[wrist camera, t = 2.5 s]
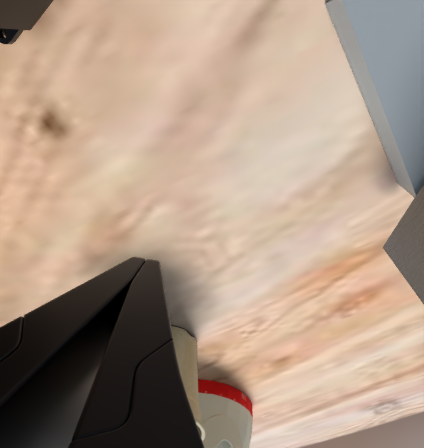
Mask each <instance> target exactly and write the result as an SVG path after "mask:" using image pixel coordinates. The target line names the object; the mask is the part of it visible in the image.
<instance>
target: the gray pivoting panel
mask: <svg viewBox="0 0 424 448" xmlns="http://www.w3.org/2000/svg"><path fill="white" fill-rule="evenodd" d="M383 249H384V250H385V251H386V253H387V254H388V255H389V257H390V258H391V260H392V261H393V262H394V264H395V265H396V267H397V268H398V269H399V271H400V272H401V273H402V275H403V276H404V278H405V279H406V280H407V282H408V283H409V285H410V286H411V287H412V289H413V290H414V291H415V293H416V294H417V296H418V297H419V298H420V300H421V301H422V303H423V304H424V185H423V186H422V188H421V189H420V191H419V192H418V194H417V195H416V197H415V199H414V200H413V202H412V203H411V205H410V206H409V208H408V209H407V211H406V212H405V214H404V215H403V217H402V218H401V220H400V222H399V223H398V225H397V226H396V228H395V229H394V231H393V232H392V234H391V235H390V237H389V238H388V240H387V242H386V243H385V245H384V246H383Z"/></svg>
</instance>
